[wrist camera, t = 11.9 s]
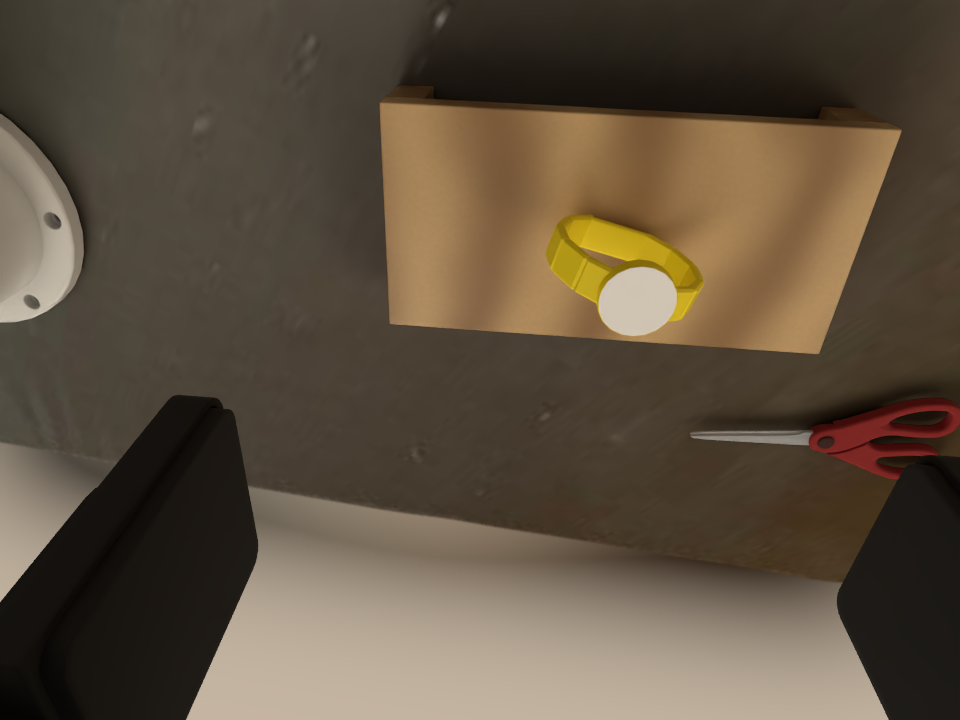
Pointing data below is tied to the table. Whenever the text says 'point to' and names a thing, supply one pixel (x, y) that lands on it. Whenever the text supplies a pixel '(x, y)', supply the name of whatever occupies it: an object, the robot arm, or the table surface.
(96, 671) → the robot arm
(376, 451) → the table surface
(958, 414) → the scissors
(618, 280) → the watch
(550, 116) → the desk stand
